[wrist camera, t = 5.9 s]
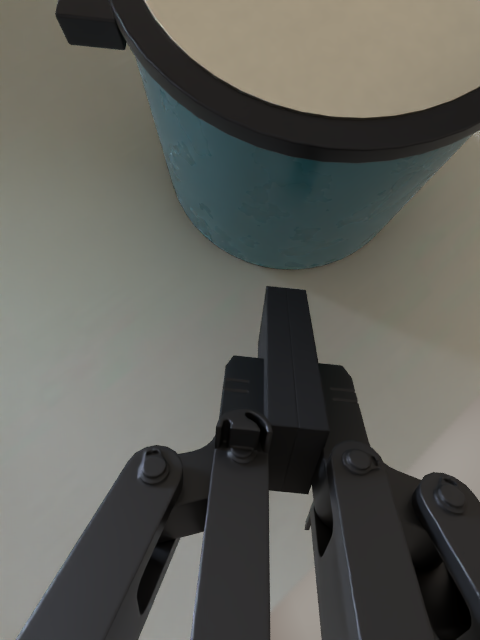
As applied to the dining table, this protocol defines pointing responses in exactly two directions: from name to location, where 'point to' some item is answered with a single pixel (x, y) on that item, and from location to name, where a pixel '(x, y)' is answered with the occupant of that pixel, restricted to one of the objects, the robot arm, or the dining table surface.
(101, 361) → the dining table surface
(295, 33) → the pot
